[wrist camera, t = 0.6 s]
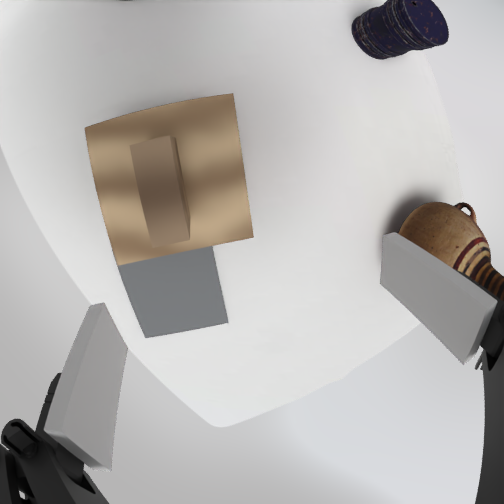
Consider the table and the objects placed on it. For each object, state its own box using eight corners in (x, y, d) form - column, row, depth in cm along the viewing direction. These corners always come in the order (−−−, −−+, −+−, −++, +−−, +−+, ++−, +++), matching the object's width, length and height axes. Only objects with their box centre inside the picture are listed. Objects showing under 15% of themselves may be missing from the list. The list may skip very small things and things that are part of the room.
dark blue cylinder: (399, 37, 35) (452, 22, 22) (385, 70, 38) (443, 58, 24) (360, 6, 32) (409, -21, 19) (343, 37, 35) (396, 11, 21)
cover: (120, 132, 35) (53, 125, 15) (219, 110, 37) (246, 77, 17) (139, 226, 41) (100, 299, 21) (234, 206, 43) (271, 264, 23)
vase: (424, 171, 47) (549, 213, 20) (447, 232, 55) (543, 287, 27) (356, 241, 50) (477, 333, 22) (390, 294, 57) (479, 379, 30)
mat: (113, 248, 41) (112, 249, 40) (208, 227, 43) (208, 228, 43) (145, 336, 48) (145, 338, 48) (228, 320, 50) (228, 322, 50)
